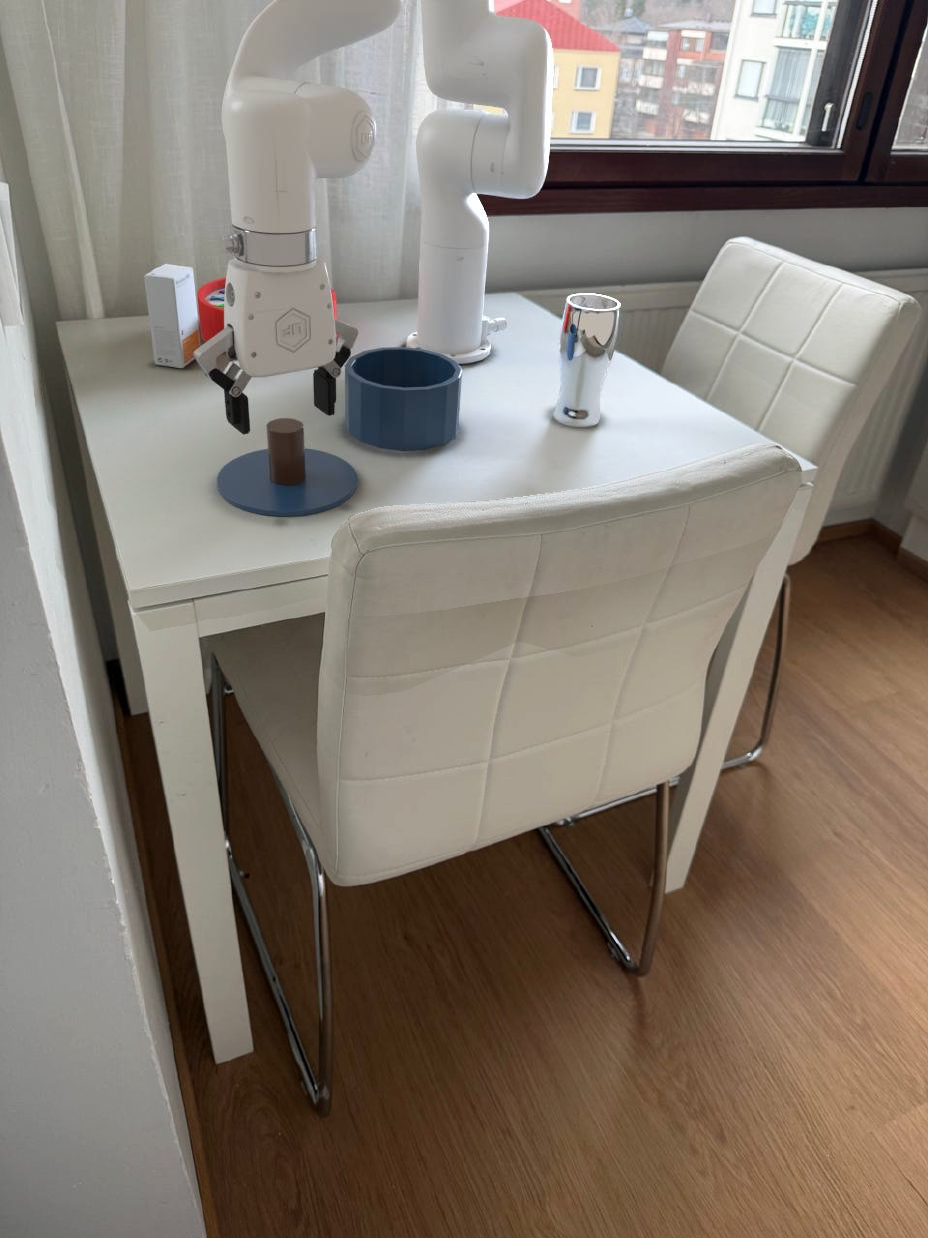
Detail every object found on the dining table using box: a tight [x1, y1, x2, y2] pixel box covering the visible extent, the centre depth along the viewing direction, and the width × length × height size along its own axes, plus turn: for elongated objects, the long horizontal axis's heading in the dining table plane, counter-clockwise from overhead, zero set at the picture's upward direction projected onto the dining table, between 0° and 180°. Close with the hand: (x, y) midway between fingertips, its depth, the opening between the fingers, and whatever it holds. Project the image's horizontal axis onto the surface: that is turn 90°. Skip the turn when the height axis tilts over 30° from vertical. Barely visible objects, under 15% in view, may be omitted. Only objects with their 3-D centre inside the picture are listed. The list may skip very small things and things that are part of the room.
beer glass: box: [552, 293, 621, 428], centre depth 115 cm, size 7×7×15 cm
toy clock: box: [196, 277, 338, 353], centre depth 135 cm, size 20×6×20 cm
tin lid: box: [216, 417, 358, 517], centre depth 97 cm, size 15×15×7 cm
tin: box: [344, 346, 463, 452], centre depth 110 cm, size 14×14×8 cm
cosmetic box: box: [143, 263, 201, 369], centre depth 123 cm, size 6×4×12 cm
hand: (283, 419), depth 94 cm, fingers open, 9 cm apart
